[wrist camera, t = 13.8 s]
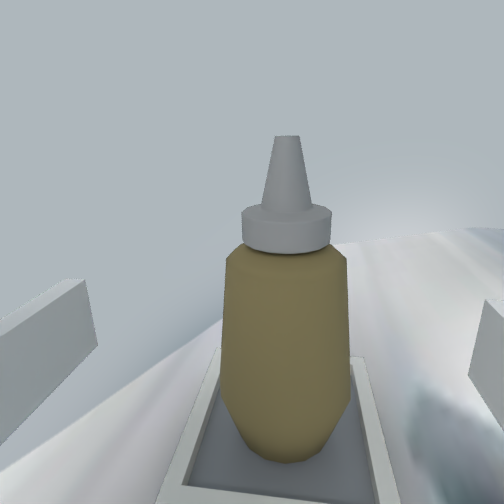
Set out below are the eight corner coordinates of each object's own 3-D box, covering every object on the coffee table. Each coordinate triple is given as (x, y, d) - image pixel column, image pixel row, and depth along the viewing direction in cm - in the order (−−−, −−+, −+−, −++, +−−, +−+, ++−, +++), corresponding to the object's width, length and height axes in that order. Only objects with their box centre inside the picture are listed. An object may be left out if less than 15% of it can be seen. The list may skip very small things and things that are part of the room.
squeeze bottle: (336, 384, 26) (354, 132, 20) (361, 488, 19) (402, 136, 13) (229, 381, 27) (217, 135, 21) (212, 482, 19) (183, 140, 13)
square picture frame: (361, 380, 29) (363, 357, 28) (402, 567, 16) (409, 536, 16) (218, 369, 30) (216, 347, 29) (159, 531, 18) (155, 501, 17)
